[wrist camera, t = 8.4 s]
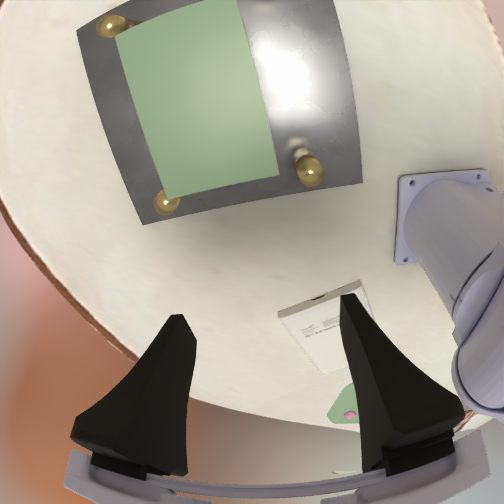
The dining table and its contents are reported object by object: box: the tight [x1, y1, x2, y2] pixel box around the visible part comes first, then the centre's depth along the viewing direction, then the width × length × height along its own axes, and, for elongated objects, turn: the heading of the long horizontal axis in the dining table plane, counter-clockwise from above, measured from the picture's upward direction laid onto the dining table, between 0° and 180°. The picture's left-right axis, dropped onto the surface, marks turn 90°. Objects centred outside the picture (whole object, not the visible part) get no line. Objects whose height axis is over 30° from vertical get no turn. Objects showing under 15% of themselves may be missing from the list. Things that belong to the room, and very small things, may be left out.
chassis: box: [76, 0, 363, 225], centre depth 13 cm, size 16×16×4 cm
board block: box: [115, 0, 279, 200], centre depth 12 cm, size 5×8×6 cm, turn 13°
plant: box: [327, 383, 359, 424], centre depth 36 cm, size 25×21×9 cm
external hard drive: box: [278, 280, 374, 374], centre depth 27 cm, size 2×8×12 cm
